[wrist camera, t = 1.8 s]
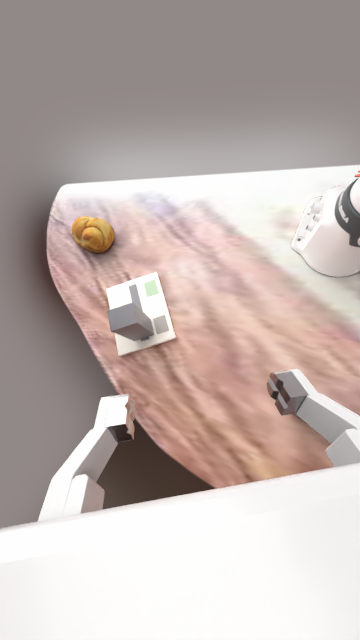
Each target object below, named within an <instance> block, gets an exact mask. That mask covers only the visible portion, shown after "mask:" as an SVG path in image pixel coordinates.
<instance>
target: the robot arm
mask: <svg viewBox="0 0 360 640" xmlns="http://www.w3.org/2000/svg"><path fill="white" fill-rule="evenodd" d="M358 172H360V171H358ZM355 177H359V178H358V179H356V180H355V181H354V182H353V183H351V184H345V185H338V186H335V187H332V188H330V189H329V190H328V191H327V192H326V193H325V195H324V196H319V197H315V198H313V199H311V200H310V201H309V202H308V204H307V206H306V208H305V211H304V213H303V216H302V218H301V221H300V223H299V226H298V228H297V231H296V233H295V236H294V238H293V241H292V244H291V247H292V248H293V249H294V250H295V251H296V252H298V253H299V254H301V255H302V257H303V258H304V260H305V261H306V263H307V264H308V265H309V266H310V267H312V268H313V269H314V270H316V271H318V272H320V273H322V274H325V275H328V276H334V277H344V276H349V275H353V274H355V273H357V272H359V271H360V174H358V175H355ZM298 240H299V241H298ZM270 378H271V379H270V380H268V382H267V389H268V392H269V394H270V396H271V397H272V398H273V399H275V405H276V407H277V409H278V410H279V412H280V414H281V415H288V414H296V415H297V416H298V417H300V418H301V419H302V420H303V421H305V422H306V423H307V424H308V425H309V426H311V427H312V428H313V429H314V430H315V431H317V432H318V433H319V434H320V435H321V436H323V437H324V438H325V439H326V440H327V441H329V442H330V443H331V445H330V446H329V447H328V448H327V449H326V451H325V452H326V454H327V456H328V457H329V459H330V460H331V462H332V463H333V465H334V467H332V468H327V469H322V470H316V471H311V472H305V473H300V474H294V475H289V476H283V477H278V478H272V479H267V480H262V481H256V482H251V483H245V484H240V485H234V486H229V487H223V488H218V489H213V490H208V491H202V492H196V493H191V494H185V495H180V496H174V497H169V498H164V499H158V500H153V501H147V502H142V503H136V504H131V505H125V506H120V507H114V508H109V509H104V510H102V506H103V499H104V492H105V491H104V490H103V488H101V487H100V486H99V485H98V484H97V483H96V481H97V479H98V477H99V476H100V474H101V472H102V470H103V469H104V467H105V465H106V463H107V462H108V460H109V458H110V456H111V454H112V453H113V451H114V449H115V447H116V445H117V444H118V443H117V442H123V441H128V440H133V438H134V425H133V420H134V419H135V405H134V402H133V401H132V400H131V398H132V397H131V394H123V395H117V396H109V397H102V398H101V400H100V404H99V408H98V412H97V416H96V421H95V425H94V429H92V430H90V432H89V433H88V434H87V435H86V436H85V438H84V439H83V440H82V441H81V443H80V444H79V445H78V446H77V448H76V449H75V450H74V451H73V453H72V454H71V455H70V457H69V458H68V459H67V460H66V462H65V463H64V464H63V465H62V467H61V468H60V469H59V470H58V472H57V473H56V474H55V476H54V477H53V478H52V480H51V483H50V486H49V489H48V492H47V495H46V498H45V501H44V504H43V507H42V510H41V513H40V516H39V519H38V522H33V523H27V524H22V525H16V526H11V527H5V528H0V640H360V416H359V415H357V414H355V413H354V412H352V411H350V410H349V409H347V408H345V407H343V406H342V405H340V404H338V403H337V402H335V401H333V400H332V399H330V398H328V397H327V396H325V395H323V394H319V393H318V392H317V391H316V390H315V388H314V387H313V386H312V385H311V383H310V382H309V381H308V380H307V378H306V377H305V376H304V375H303V373H302V372H301V371H300V370H299V369H291V370H284V371H278V372H272V373H271V374H270Z"/></svg>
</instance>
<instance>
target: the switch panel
mask: <svg viewBox="0 0 360 640" xmlns="http://www.w3.org/2000/svg"><path fill="white" fill-rule="evenodd" d="M106 290H107V295H108V301H109V306H110V310H111V309H114V308H117V307H120V306H123V305H126V304H129V303H132V302H133V303H134V304H135V305H136V306H137V307H138V308H139V309H140V310H141V311H142V312H144V313H145V314H146V315H147V316H148V317H149V318H150V319H151V323H152V327H153V331H154V335H152V336H149V337H146V338H143V339H140V340H137V341H132V340H130V339H128V338H125V337H123V336H121V335H118V334H116V333H115V338H116V344H117V349H118V354H119V356H124V355H127V354H130V353H133V352H136V351H139V350H142V349H145V348H149V347H152V346H155V345H158V344H161V343H164V342H167V341H170V340H174V339H177V338H176V334H175V331H174V327H173V324H172V321H171V317H170V314H169V310H168V307H167V303H166V300H165V296H164V293H163V290H162V286H161V283H160V279H159V276H158V273H157V272H154V273H151V274H148V275H145V276H143V277H140V278H137V279H134V280H131V281H128V282H125V283H122V284H119V285H116V286H113V287H111V288H108V289H106Z"/></svg>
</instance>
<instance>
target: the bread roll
mask: <svg viewBox="0 0 360 640" xmlns="http://www.w3.org/2000/svg"><path fill="white" fill-rule="evenodd" d="M72 235H73V238H74V240H75V241H76V243H77V244H78V245H80V246H81V247H82V248H84V249H86V250H88V251H90V252H94V253H102V252H104V251H106V250H107V249H108V248H109V247H110V246H111V244H112V242H113V240H114V230H113V229H112V227H111V226H110V225H109V224H108V223H107V222H106V221H105V220H102V219H99V218H91V217H88V216H84V217H79V218H77V219H76V220H75V222H74V223H73V225H72Z"/></svg>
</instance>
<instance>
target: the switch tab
mask: <svg viewBox="0 0 360 640" xmlns="http://www.w3.org/2000/svg"><path fill="white" fill-rule="evenodd" d="M107 313H108V318H109V324H110V329H111V332H114V333H116V334H118V335H121V336H123V337H125V338H128V339H130V340H132V341H137V340H140V339H143V338H146V337H149V336H152V335H154V331H153V327H152V323H151V319H150V318H149V317H148V316H147V315H146V314H145V313H144V312H142V311H141V310H140V309H139V308H138V307H137V306H136V305H135V304H134V303H133V302H132V303H129V304H126V305H123V306H120V307H117V308H114V309H111V310H108V311H107Z"/></svg>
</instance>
